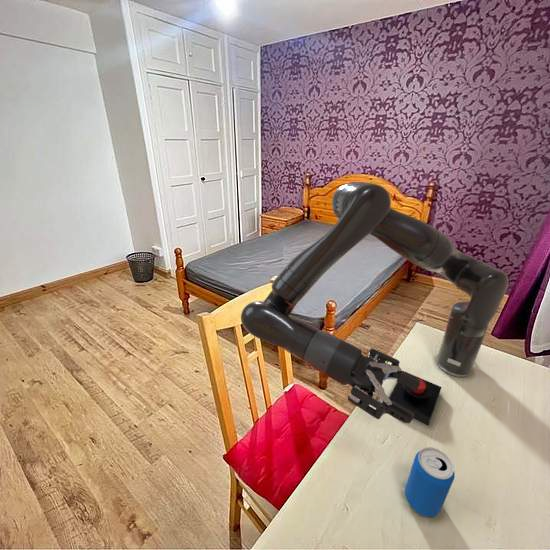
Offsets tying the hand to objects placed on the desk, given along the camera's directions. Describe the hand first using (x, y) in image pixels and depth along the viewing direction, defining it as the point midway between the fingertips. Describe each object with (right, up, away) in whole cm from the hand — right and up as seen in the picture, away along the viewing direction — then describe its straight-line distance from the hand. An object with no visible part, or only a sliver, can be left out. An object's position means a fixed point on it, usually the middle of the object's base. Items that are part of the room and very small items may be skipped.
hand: (415, 401), depth 54 cm
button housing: (+12, -11, +27) cm, 31 cm away
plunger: (+12, -7, +25) cm, 29 cm away
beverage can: (+4, -22, +6) cm, 23 cm away
